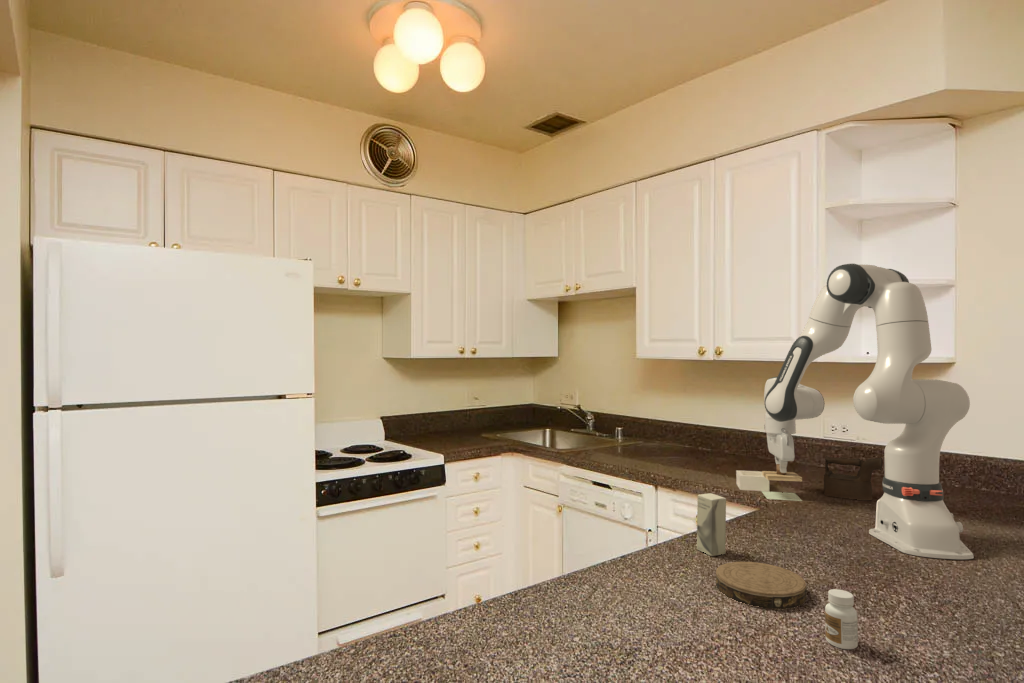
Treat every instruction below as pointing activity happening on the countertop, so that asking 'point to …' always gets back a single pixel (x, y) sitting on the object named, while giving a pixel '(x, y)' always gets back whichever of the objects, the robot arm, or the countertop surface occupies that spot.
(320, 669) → the countertop surface
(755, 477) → the dish
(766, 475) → the lid
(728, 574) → the brown round disc
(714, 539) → the box
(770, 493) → the mat
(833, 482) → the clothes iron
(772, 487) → the countertop surface
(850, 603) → the pill bottle
